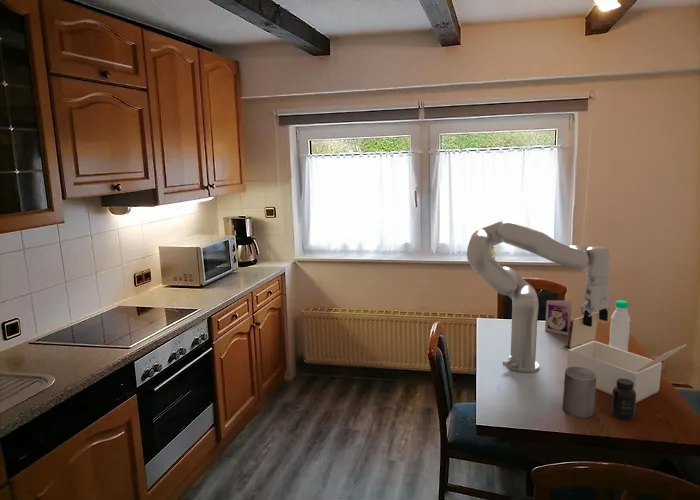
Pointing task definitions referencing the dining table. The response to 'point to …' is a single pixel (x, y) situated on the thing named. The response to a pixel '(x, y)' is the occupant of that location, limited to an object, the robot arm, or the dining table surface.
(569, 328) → the condiment
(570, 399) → the pillar candle
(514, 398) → the dining table surface
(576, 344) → the far flap
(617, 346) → the water bottle
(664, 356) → the near flap
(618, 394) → the supplement bottle
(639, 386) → the carton
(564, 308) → the greeting card
